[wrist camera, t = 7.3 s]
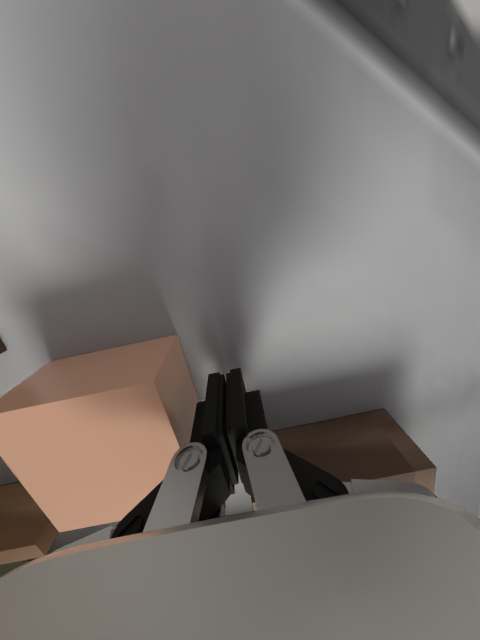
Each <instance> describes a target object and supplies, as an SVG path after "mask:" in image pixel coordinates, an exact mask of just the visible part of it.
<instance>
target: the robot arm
mask: <svg viewBox="0 0 480 640" xmlns="http://www.w3.org/2000/svg"><path fill="white" fill-rule="evenodd" d="M238 472H239V475H240V478H241V482H242V483H243V484H244V487H245V491H246V492H247V493H248V494H249V495H251V496H252V497H253V498H254V499H255V502H256V506H257V511H251V512H246V513H241V514H235V515H230V516H225V501H226V499H227V498H228V497H229V496H230V494H235V491H234V484H238ZM224 516H225V517H224ZM0 640H480V519H479V518H478V517H476V516H475V515H473V514H472V513H471V512H469V511H467V510H465V509H464V508H462V507H460V506H457V505H455V504H453V503H450V502H447V501H445V500H442V499H438V498H437V497H436V496H435V494H433V493H432V492H431V491H430V490H428V489H427V488H426V487H424V486H422V485H420V484H418V483H413V482H407V481H385V480H363V479H351V482H342V481H341V480H339V479H338V478H337V477H335V476H333V475H332V474H330V473H328V472H326V471H324V470H322V469H321V468H319V467H317V466H315V465H313V464H311V463H310V462H308V461H306V460H304V459H302V458H300V457H299V456H297V455H295V454H293V453H291V452H289V451H288V450H286V449H284V448H282V446H281V444H280V442H279V439H278V437H277V436H276V434H275V433H273V432H272V431H270V430H268V429H267V425H266V420H265V415H264V410H263V405H262V401H261V396H260V391H259V390H256V391H251V392H246V389H245V385H244V381H243V377H242V373H241V369H240V368H237V369H232V370H230V373H227V374H226V380H225V376H224V374H222V375H220V373H219V372H218V373H213V374H209V376H208V383H207V391H206V398H205V401H202V402H198V403H197V405H196V410H195V416H194V421H193V427H192V433H191V438H190V443H188V444H186V445H184V446H182V447H181V448H180V449H178V450H177V452H176V453H175V454H174V455H173V457H172V459H171V462H170V464H169V467H168V469H167V472H166V474H165V477H164V479H163V480H162V481H161V482H160V483H159V484H158V485H157V486H156V487H155V488H154V489H153V490H152V491H151V492H150V493H149V494H148V495H147V496H146V497H145V498H144V499H142V500H141V501H140V502H139V503H138V504H137V505H136V506H135V507H134V508H133V509H132V510H131V511H130V512H129V513H128V514H127V515H126V516H125V517H124V518H123V519H122V520H121V521H120V522H119V523H118V525H117V527H115V528H113V526H112V525H111V526H109V527H106V528H104V529H102V530H100V531H97V532H95V533H93V534H91V535H88V536H86V537H84V538H81V539H79V540H77V541H75V542H72V543H70V544H68V545H65V546H63V547H61V548H59V549H57V550H55V551H53V552H52V553H50V554H48V555H45V556H43V557H40V558H37V559H34V560H32V561H30V562H28V563H26V564H24V565H21V566H19V567H17V568H15V569H13V570H12V571H10V572H8V573H6V574H5V575H3V576H1V577H0Z"/></svg>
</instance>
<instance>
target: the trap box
mask: <svg viewBox="0 0 480 640" xmlns="http://www.w3.org/2000/svg"><path fill="white" fill-rule="evenodd" d="M4 351H6V348H5V346H4V345H3V343H2V342H1V340H0V354H1V353H3V352H4ZM272 432H273V433H275V434H276V436H277V437H278V439H279V442H280V444H281V446H282V448H284V449H286V450H288V451H289V452H291V453H293V454H295V455H297V456H299V457H300V458H302V459H304V460H306V461H308V462H310V463H311V464H313V465H315V466H317V467H319V468H321V469H322V470H324V471H326V472H328V473H330V474H332V475H333V476H335V477H337V478H338V479H339V480H341V481H342V482H351V479H363V480H385V481H407V482H413V483H418V484H420V485H422V486H424V487H426V488H427V489H428V490H430V491H431V492H432V493H433V492H434V483H435V475H436V466H435V465H434V464H433V463H432V462H431V461H430V460H429V459H428V457H427V456H426V455H425V454H424V453H423V452H422V451H421V450H420V448H419V447H418V446H417V445H416V444H415V443H414V442H413V441H412V439H411V438H410V437H409V436H408V435H407V434H406V433H405V432H404V430H403V429H402V428H401V427H400V426H399V425H398V424H397V423H396V421H395V420H394V419H393V418H392V417H391V416H390V415H389V414H388V412H387V411H386V410H385V409H382V410H377V411H372V412H367V413H362V414H357V415H352V416H347V417H342V418H337V419H332V420H327V421H322V422H317V423H312V424H307V425H302V426H297V427H292V428H287V429H282V430H277V431H272ZM251 500H252V506H253V509H254V511H257V506H256V502H255V499H254V498H253V497H252V496H251ZM58 533H59V532H58V530H57V529H56V528H55V526H54V525H53V524H52V522H51V521H50V520H49V519H48V517H47V516H46V515H45V513H44V512H43V511H42V510H41V508H40V507H39V506H38V504H37V503H36V502H35V500H34V499H33V498H32V497H31V495H30V494H29V493H28V491H27V490H26V489H25V488H24V486H23V485H22V484H21V482H18V483H13V484H8V485H3V486H0V577H1V576H3V575H5V574H6V573H8V572H10V571H12V570H13V569H15V568H17V567H19V566H21V565H24V564H26V563H28V562H29V561H28V559H33V558H39V557H43V556H45V555H46V554H47V553H48V551H49V549H50V547H51V545H52V544H53V542H54V540H55V538H56V537H57V535H58Z"/></svg>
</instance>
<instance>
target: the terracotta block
mask: <svg viewBox="0 0 480 640" xmlns="http://www.w3.org/2000/svg"><path fill="white" fill-rule="evenodd" d="M198 402H199V400H198V397H197V393H196V390H195V387H194V384H193V381H192V378H191V375H190V372H189V369H188V366H187V363H186V360H185V357H184V354H183V351H182V348H181V345H180V342H179V339H178V336H177V335H172V336H167V337H162V338H158V339H153V340H148V341H143V342H139V343H134V344H129V345H124V346H120V347H115V348H110V349H105V350H101V351H96V352H91V353H87V354H82V355H77V356H72V357H68V358H63V359H58V360H53V361H50V362H49V363H48V364H46V365H45V366H44V367H42V368H41V369H39V370H38V371H37V372H35V373H34V374H33V375H31V376H30V377H28V378H27V379H26V380H24V381H23V382H22V383H20V384H19V385H17V386H16V387H15V388H13V389H12V390H11V391H9V392H8V393H7V394H5V395H4V396H2V397H1V398H0V456H1V458H2V459H3V460H4V462H5V463H6V464H7V466H8V467H9V468H10V469H11V471H12V472H13V473H14V475H15V476H16V477H17V478H18V480H19V481H20V482H21V484H22V485H23V486H24V488H25V489H26V490H27V491H28V493H29V494H30V495H31V497H32V498H33V499H34V500H35V502H36V503H37V504H38V506H39V507H40V508H41V510H42V511H43V512H44V513H45V515H46V516H47V517H48V519H49V520H50V521H51V522H52V524H53V525H54V526H55V528H56V529H57V530H58V532H64V531H70V530H75V529H80V528H85V527H91V526H96V525H101V524H106V523H112V522H117V521H121V520H122V519H123V518H124V517H125V516H126V515H127V514H128V513H129V512H130V511H131V510H132V509H133V508H134V507H135V506H136V505H137V504H138V503H139V502H140V501H141V500H142V499H144V498H145V497H146V496H147V495H148V494H149V493H150V492H151V491H152V490H153V489H154V488H155V487H156V486H157V485H158V484H159V483H160V482H161V481H162V480H163V479H164V477H165V474H166V472H167V469H168V467H169V464H170V462H171V459H172V457H173V455H174V454H175V453H176V452H177V450H178V449H180V448H181V447H182V446H184V445H186V444H188V443H190V438H191V433H192V427H193V421H194V416H195V410H196V405H197V403H198Z"/></svg>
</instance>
